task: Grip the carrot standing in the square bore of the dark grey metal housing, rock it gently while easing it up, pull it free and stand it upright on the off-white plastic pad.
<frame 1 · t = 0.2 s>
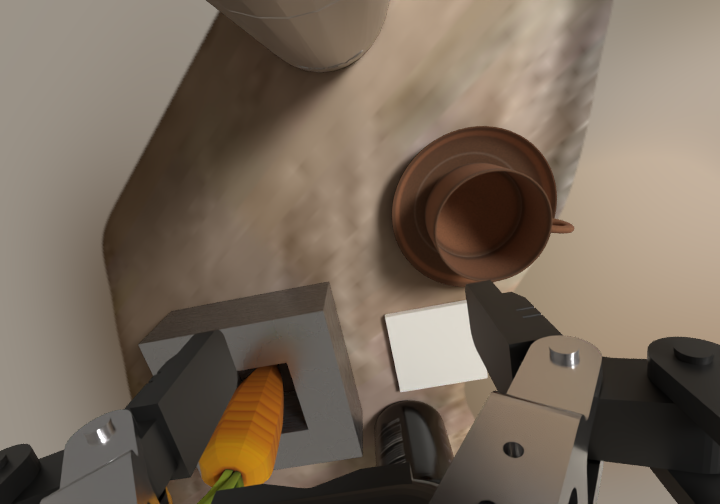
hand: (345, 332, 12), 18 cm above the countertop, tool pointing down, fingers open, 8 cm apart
plastic pad: (436, 345, 33), on the countertop
metal housing: (272, 364, 33), on the countertop
supplement bottle: (408, 423, 36), on the countertop
carrot: (272, 362, 34), on the countertop
cup and saucer: (465, 206, 29), on the countertop
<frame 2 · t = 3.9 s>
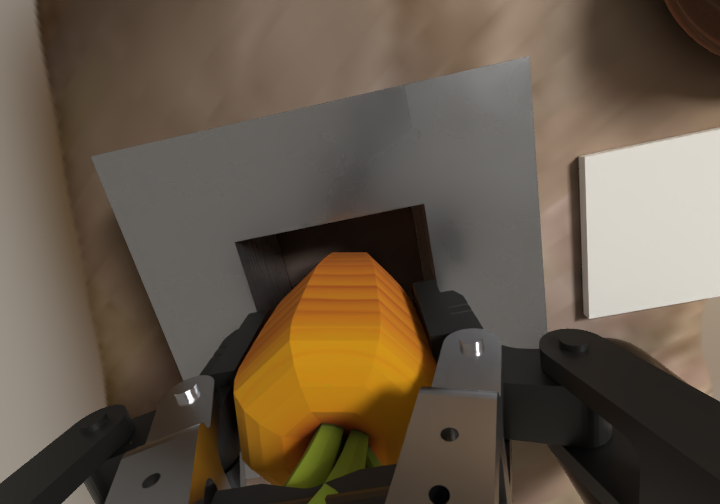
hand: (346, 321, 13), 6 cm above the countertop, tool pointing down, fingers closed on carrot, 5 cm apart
plastic pad: (668, 224, 17), on the countertop
metal housing: (352, 264, 18), on the countertop
supplement bottle: (586, 385, 20), on the countertop
carrot: (352, 263, 18), on the countertop, touching gripper
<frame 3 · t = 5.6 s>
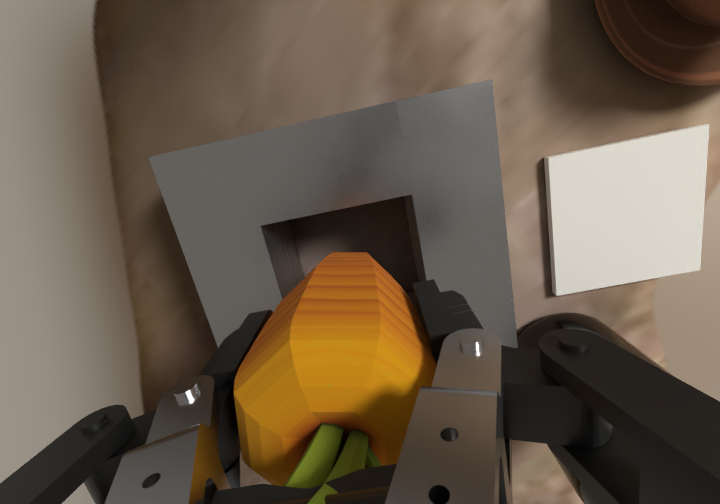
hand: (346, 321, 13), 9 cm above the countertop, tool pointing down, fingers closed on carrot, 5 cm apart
plastic pad: (621, 214, 20), on the countertop
metal housing: (354, 249, 21), on the countertop
supplement bottle: (556, 355, 23), on the countertop
carrot: (352, 263, 18), point 3 cm above the countertop, touching gripper
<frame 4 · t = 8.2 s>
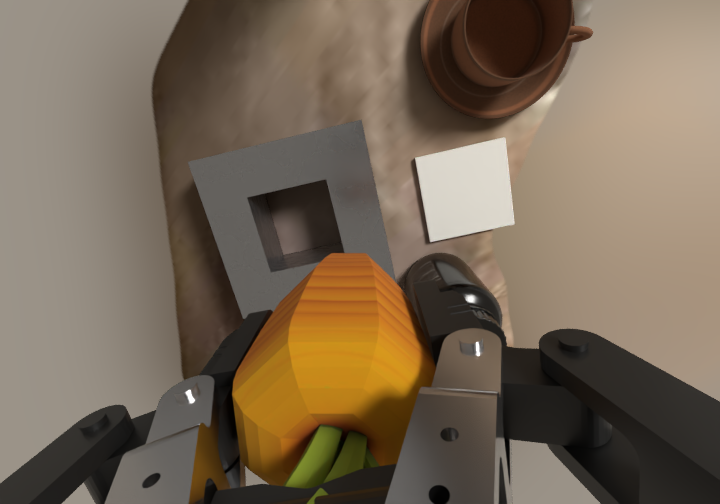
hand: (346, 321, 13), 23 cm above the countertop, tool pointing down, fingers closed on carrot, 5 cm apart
plastic pad: (464, 191, 34), on the countertop
metal housing: (306, 215, 35), on the countertop
supplement bottle: (438, 282, 37), on the countertop
carrot: (352, 264, 18), point 17 cm above the countertop, touching gripper
cup and saucer: (488, 44, 31), on the countertop
when the fingers open (7 cm above the countertop, at t = 12.7 s): carrot stays where it is, resting on plastic pad.
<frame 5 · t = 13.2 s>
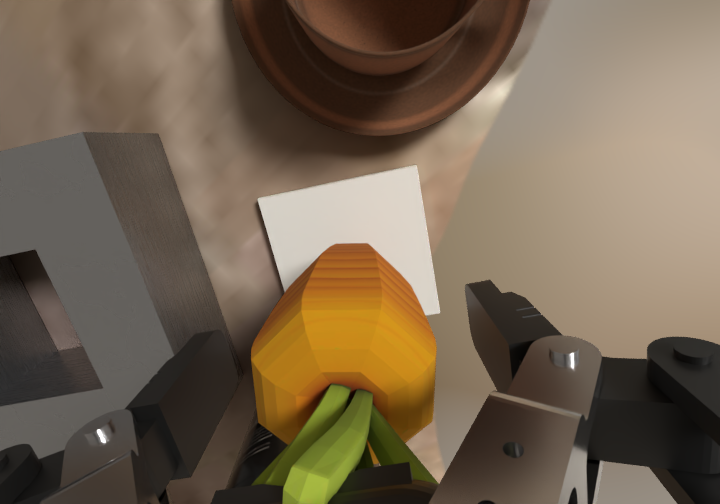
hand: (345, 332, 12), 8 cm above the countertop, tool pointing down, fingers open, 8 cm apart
plastic pad: (353, 255, 20), on the countertop
metal housing: (85, 290, 20), on the countertop
supplement bottle: (321, 396, 23), on the countertop
carrot: (354, 256, 19), resting on plastic pad
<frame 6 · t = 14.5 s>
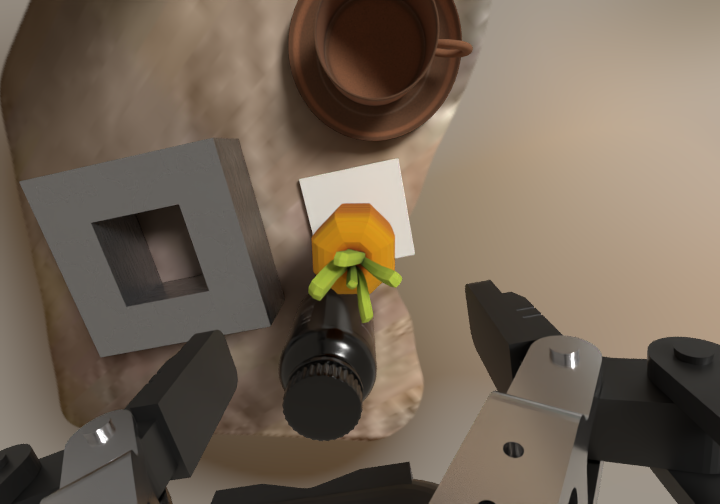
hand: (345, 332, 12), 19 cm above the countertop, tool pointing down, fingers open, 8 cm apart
plastic pad: (358, 216, 30), on the countertop
metal housing: (184, 240, 31), on the countertop
supplement bottle: (336, 315, 33), on the countertop
carrot: (359, 216, 30), resting on plastic pad
cup and saucer: (374, 57, 27), on the countertop
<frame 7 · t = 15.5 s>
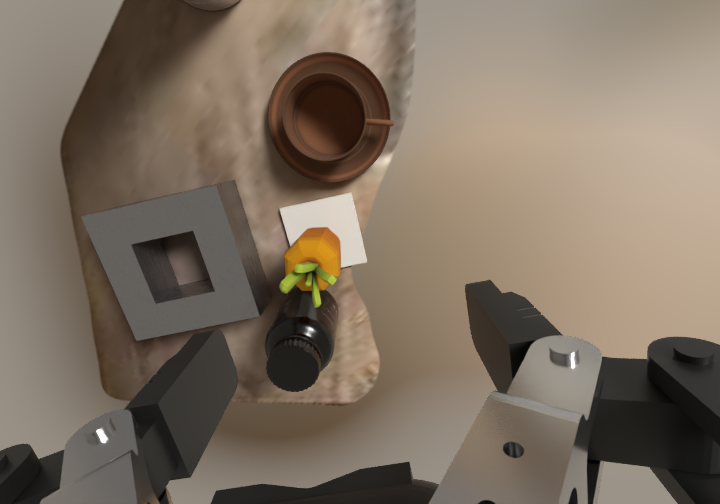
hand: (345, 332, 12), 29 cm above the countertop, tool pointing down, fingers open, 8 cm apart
plastic pad: (324, 234, 41), on the countertop
metal housing: (195, 253, 42), on the countertop
supplement bottle: (311, 309, 44), on the countertop
carrot: (325, 235, 41), resting on plastic pad
cup and saucer: (331, 121, 38), on the countertop
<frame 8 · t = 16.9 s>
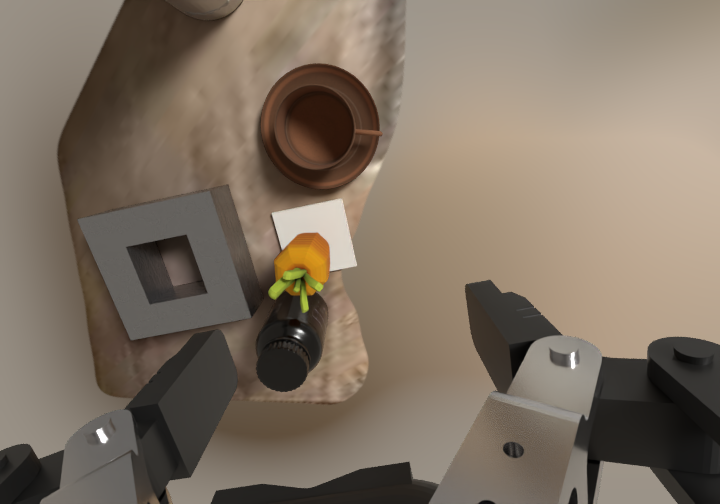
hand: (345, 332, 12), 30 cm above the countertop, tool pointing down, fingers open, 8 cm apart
plastic pad: (315, 239, 42), on the countertop
metal housing: (189, 255, 43), on the countertop
supplement bottle: (302, 310, 45), on the countertop
carrot: (315, 239, 42), resting on plastic pad
cup and saucer: (322, 129, 39), on the countertop
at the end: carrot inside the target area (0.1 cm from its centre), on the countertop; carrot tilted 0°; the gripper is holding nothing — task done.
